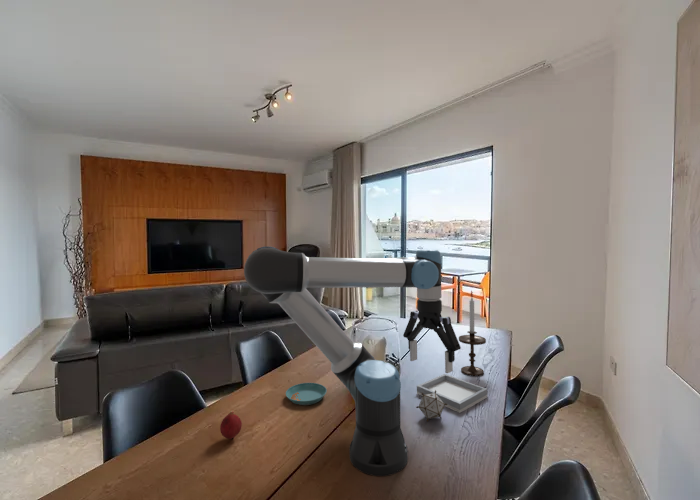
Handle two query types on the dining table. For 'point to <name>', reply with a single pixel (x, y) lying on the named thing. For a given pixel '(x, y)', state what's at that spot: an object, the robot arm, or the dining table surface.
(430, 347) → the dining table surface
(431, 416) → the game die
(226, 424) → the onion
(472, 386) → the tray
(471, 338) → the candlestick
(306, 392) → the saucer
